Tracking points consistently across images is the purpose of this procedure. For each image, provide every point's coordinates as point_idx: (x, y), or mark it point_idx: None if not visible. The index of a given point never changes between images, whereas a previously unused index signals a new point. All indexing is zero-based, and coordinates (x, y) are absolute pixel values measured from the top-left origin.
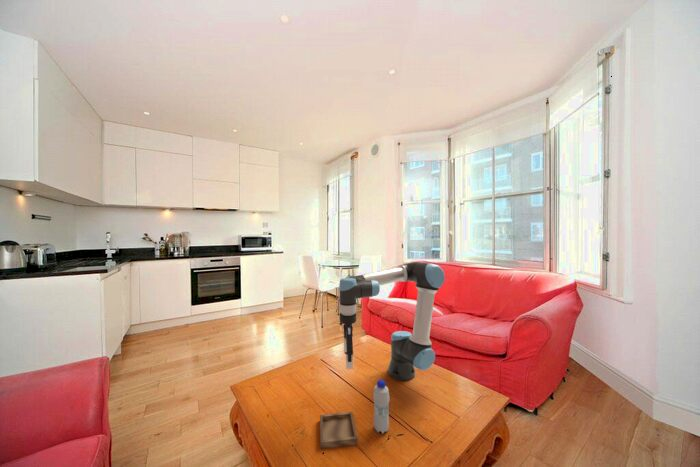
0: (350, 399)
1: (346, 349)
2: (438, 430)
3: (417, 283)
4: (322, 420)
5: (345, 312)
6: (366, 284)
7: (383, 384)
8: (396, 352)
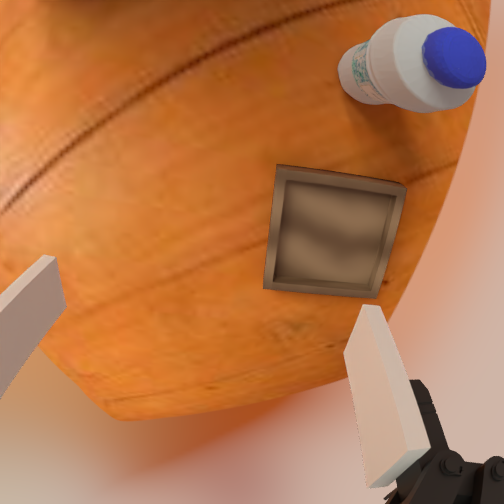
0: (170, 148)
1: (43, 309)
2: None
3: None
4: (291, 284)
5: None
6: None
7: (484, 58)
8: None
